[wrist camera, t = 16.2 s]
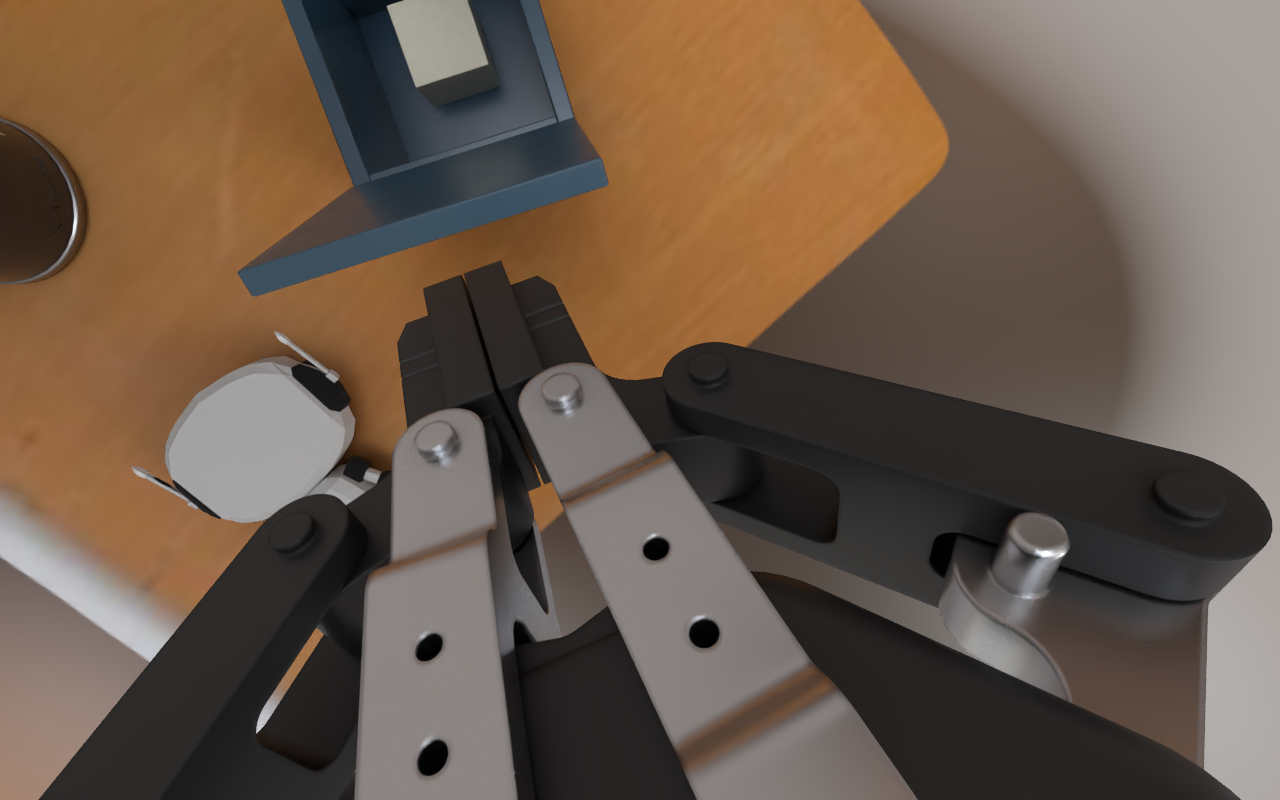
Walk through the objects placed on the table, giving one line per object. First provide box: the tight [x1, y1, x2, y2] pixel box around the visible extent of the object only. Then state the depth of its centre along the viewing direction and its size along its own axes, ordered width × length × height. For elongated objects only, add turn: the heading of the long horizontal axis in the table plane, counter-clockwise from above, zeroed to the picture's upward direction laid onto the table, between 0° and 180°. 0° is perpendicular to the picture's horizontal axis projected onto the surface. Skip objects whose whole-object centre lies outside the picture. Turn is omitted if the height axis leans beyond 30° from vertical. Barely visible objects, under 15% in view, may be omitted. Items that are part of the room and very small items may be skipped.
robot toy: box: [132, 332, 392, 523], centre depth 39 cm, size 12×4×15 cm
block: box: [387, 0, 501, 107], centre depth 34 cm, size 4×4×4 cm
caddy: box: [282, 0, 575, 186], centre depth 32 cm, size 12×11×10 cm
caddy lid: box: [238, 117, 608, 296], centre depth 23 cm, size 12×11×1 cm
